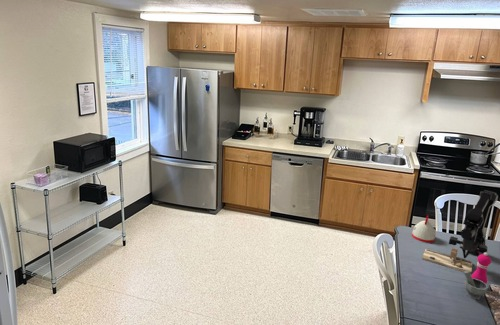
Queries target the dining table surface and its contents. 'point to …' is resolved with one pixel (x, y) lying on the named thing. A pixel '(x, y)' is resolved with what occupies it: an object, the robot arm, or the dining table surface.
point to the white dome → (424, 231)
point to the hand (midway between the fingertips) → (464, 258)
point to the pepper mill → (482, 267)
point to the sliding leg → (453, 254)
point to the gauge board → (447, 260)
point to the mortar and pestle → (474, 286)
